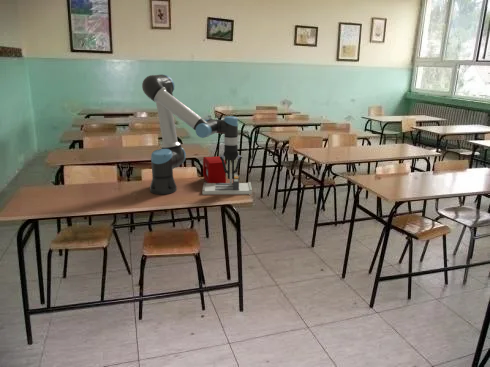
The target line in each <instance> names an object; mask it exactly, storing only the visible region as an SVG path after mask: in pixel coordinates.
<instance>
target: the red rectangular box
mask: <svg viewBox="0 0 490 367" xmlns="http://www.w3.org/2000/svg"><path fill="white" fill-rule="evenodd" d="M220 156H221V155H220ZM220 156H219V155H218V156H203V158H202V172H203V174H202V175H203V179H204V181H205V182H206V183H227V173H225V171H224V168H223V164H222V160H221V159H220ZM224 162H225V166H226V167H227V162H226V160H225V159H224Z"/></svg>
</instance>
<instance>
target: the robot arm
mask: <svg viewBox="0 0 490 367" xmlns="http://www.w3.org/2000/svg"><path fill="white" fill-rule="evenodd" d="M141 87H142V91H143V93H144V94H145V95H146V96H147V98H149V99H150V100H152V102H154V103H155V104H156V110H157V115H158V122H159V128H160V133H161V138H162V145H161V146H160V147H161V148H160V149H156V150H154V151H152V152H151V154H150V157H151V158H150V161H151V162H150V163H151V174H152V176H151V177H152V178H151V183H150V186H149V191H150V193H152V194H154V195H169V194H173V193H176V191H177V190H178V189H177V184H176V182H175V181H176V180H175V178H174V169H176V168H177V167H180V166H181V165H183V163H184V162H185V161H186V158H187V157H186V156H187V154H186V150H185V149H184V148H183V147H182V144H181V142H179V141H178V136H177V128H176V123H175V117H174V115H175V116H176V117H177V118H178V119H180V121H182V122H183V123H184V124H186V125H188V126H189V127H190V128H191V129H192V130H194V131H195V134H196V136H198V137H199V138H202V139H204V138H208V137H210V136H211V135H214V134H224V135H223V137H224V140H223V141H224V142H223V143H224V146H223V148H224V150H223V151H224V152H223V154H222V155H220V159H221V160H222V164H223V168H224V171H225V173H226V175H227V179H228V180H229V183H230V185H232V183H233V179H234V175H235V174H237V173H238V170H239V167H240V162H241V160H242V159H243V156H242V155H240V154H239V151H238V142H239V141H238V139H239V138H238V134H239V132H238V129H239V128H238V127H239V124H238V117H237V116H233V115H232V116H227V115H226V116H224V119H213V118H207V119H204V118H202V117H201V116H200V115H199V114H197V113H196V112H195V111H194V110H192V108H189V107H188V106H186V105H185V104H184V103H183V102H181V101H180V100H179V99H177V98H176V97H175V96H174V95H173V94H174V93H173V92H174V90H175V82H174V80H173V78H172V77H170V76H169V75H166V74H151V75H148V76H146V77H145V78H144V79H143V80H142V85H141ZM225 159H226V161H227V165H226V166H225V162H226V161H225V162H224V160H225ZM236 159H237V162H236V165H235V160H236ZM230 162H231V163H230ZM230 165H231V166H230ZM230 169H231V170H230Z"/></svg>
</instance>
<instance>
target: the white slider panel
mask: <svg viewBox="0 0 490 367" xmlns="http://www.w3.org/2000/svg"><path fill="white" fill-rule="evenodd" d="M234 176H238V177H239V175H238V174H234ZM202 195H253V189H252V183H251V181H248V182H240V180H239V181H238V179H232V185H230V182H226V183H207V182H206V181H205V182H203V185H202Z"/></svg>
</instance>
